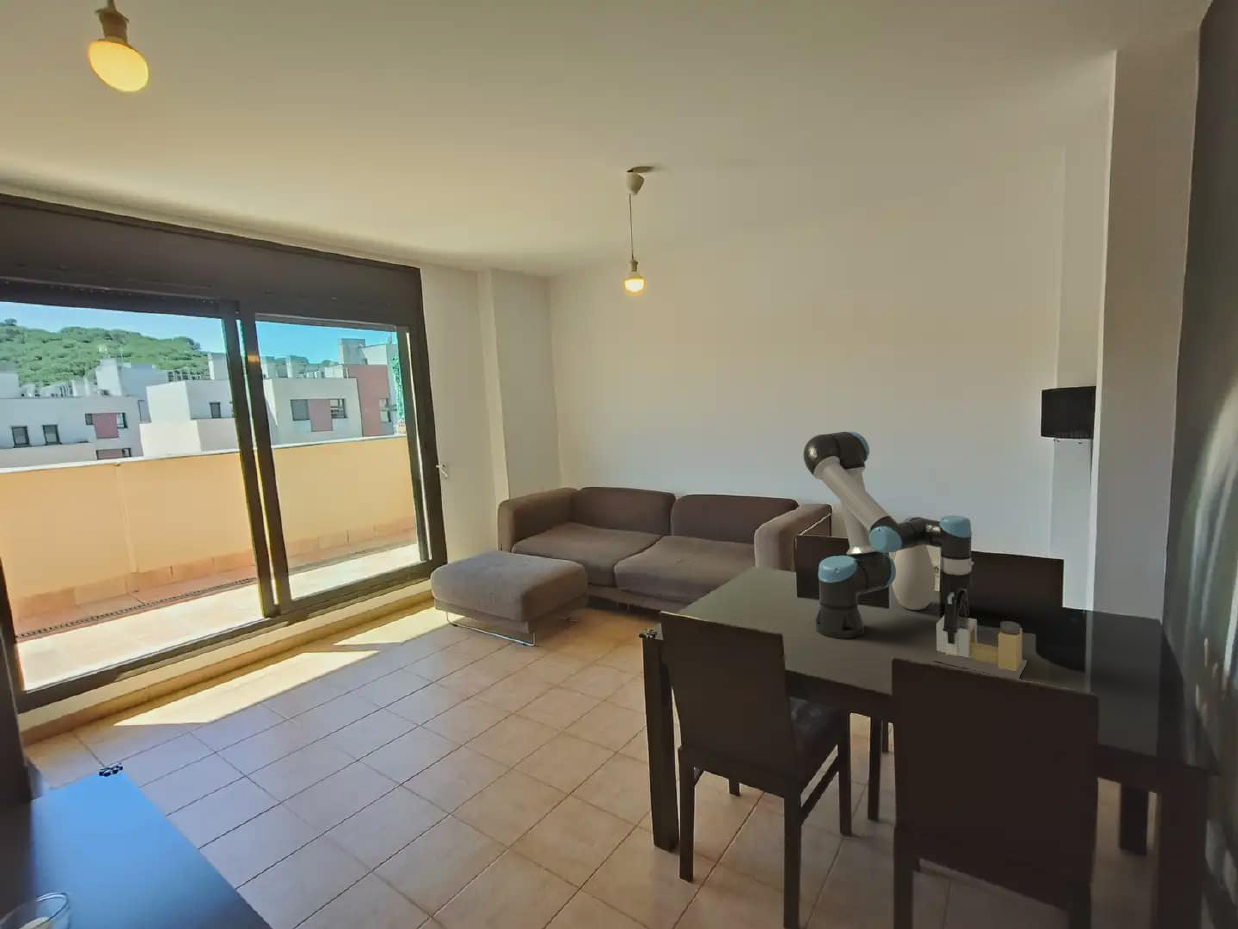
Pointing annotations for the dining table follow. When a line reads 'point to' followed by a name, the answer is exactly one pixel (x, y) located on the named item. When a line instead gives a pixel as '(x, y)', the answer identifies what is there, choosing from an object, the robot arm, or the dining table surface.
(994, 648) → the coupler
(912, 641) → the dining table surface
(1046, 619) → the dining table surface
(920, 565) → the vase
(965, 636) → the grey slotted block
